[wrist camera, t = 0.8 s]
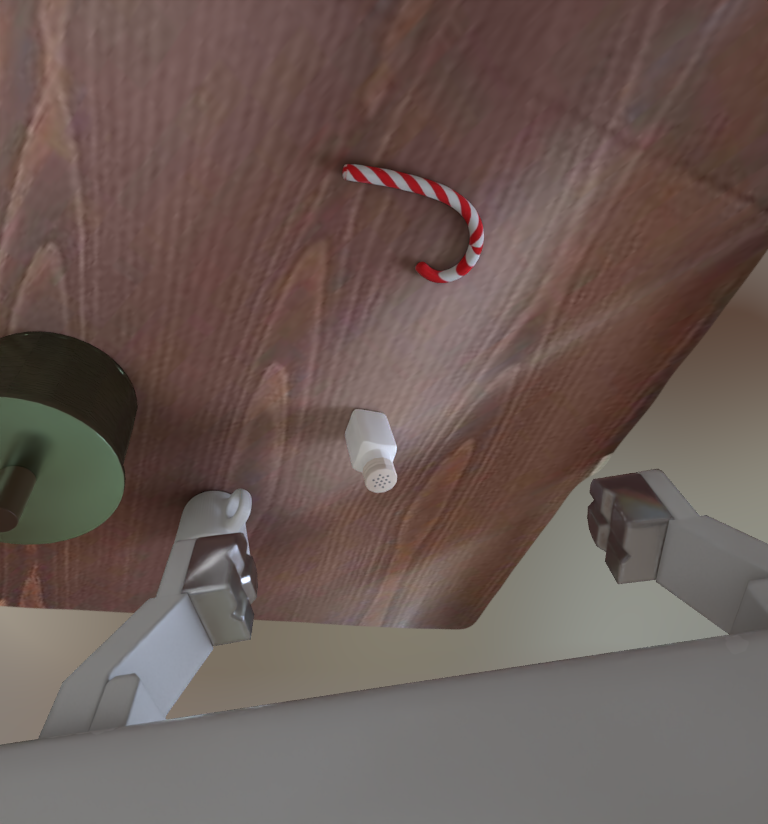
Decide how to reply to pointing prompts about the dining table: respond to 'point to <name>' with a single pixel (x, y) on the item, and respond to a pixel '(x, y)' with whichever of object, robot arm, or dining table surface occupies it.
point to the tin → (71, 380)
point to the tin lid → (53, 472)
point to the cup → (215, 515)
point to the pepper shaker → (372, 449)
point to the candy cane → (436, 192)
